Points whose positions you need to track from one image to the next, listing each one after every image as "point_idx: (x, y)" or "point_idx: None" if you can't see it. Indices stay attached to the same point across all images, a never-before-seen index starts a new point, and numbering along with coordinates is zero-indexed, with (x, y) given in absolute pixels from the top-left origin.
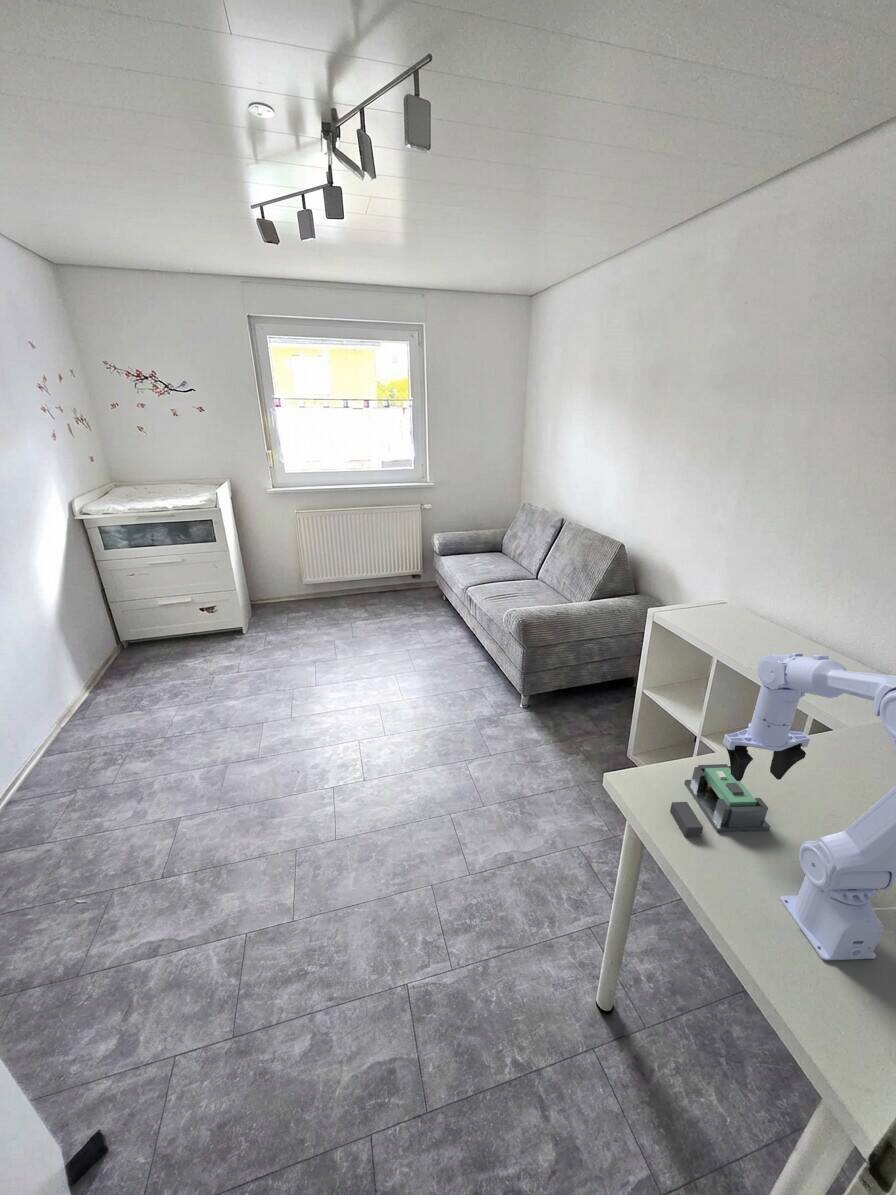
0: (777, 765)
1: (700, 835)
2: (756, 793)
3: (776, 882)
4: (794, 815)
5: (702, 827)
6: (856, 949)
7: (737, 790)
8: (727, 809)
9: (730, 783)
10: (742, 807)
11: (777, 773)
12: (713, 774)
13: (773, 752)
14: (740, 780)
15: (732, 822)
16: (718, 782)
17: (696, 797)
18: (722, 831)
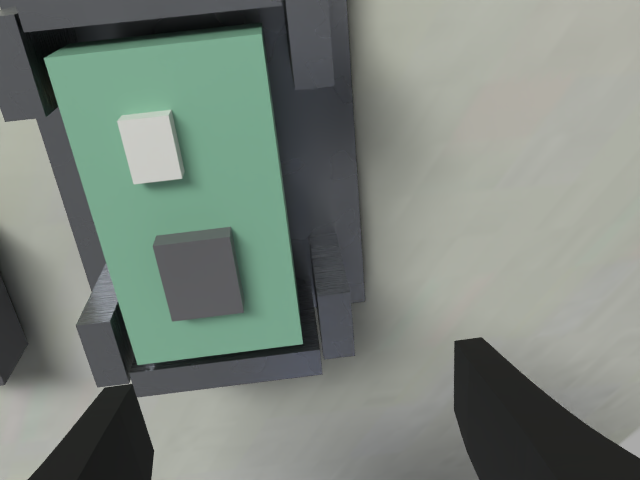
0: (497, 458)
1: (23, 348)
2: (453, 34)
3: (260, 473)
4: (549, 183)
5: (2, 383)
6: None
7: (204, 305)
8: (112, 384)
9: (182, 247)
10: (205, 367)
11: (470, 432)
12: (98, 130)
13: (540, 460)
14: (150, 458)
15: None
16: (112, 211)
17: (43, 137)
18: None
